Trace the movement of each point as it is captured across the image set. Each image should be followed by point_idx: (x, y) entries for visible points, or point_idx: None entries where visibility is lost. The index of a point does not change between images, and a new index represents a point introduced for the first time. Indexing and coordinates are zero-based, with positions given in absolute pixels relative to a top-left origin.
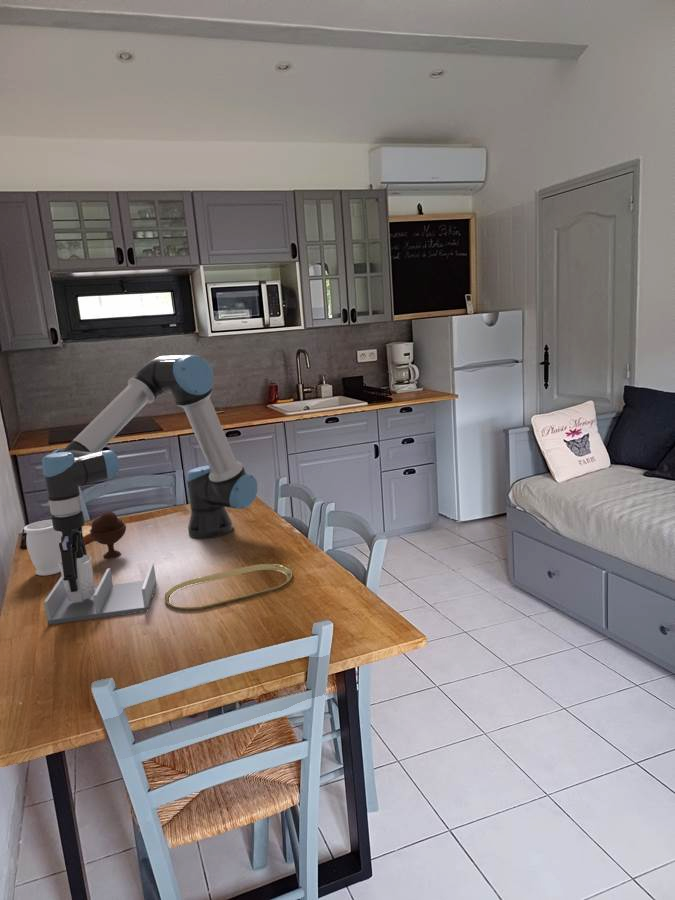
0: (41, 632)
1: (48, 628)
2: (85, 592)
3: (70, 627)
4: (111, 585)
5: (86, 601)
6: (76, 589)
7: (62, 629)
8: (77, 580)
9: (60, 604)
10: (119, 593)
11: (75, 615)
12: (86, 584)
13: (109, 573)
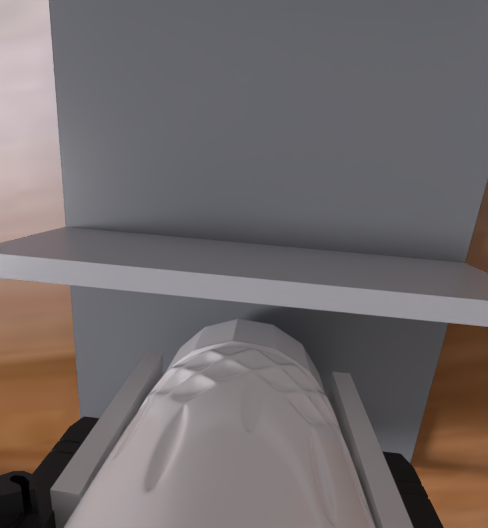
0: (459, 481)
1: (433, 461)
2: (317, 380)
3: (481, 380)
4: (92, 231)
5: None
6: (410, 468)
7: (481, 410)
8: (406, 523)
9: None
10: (214, 171)
11: (417, 379)
12: (321, 406)
13: (39, 249)
